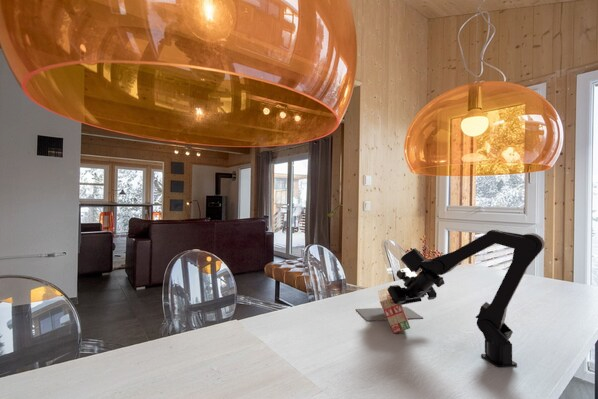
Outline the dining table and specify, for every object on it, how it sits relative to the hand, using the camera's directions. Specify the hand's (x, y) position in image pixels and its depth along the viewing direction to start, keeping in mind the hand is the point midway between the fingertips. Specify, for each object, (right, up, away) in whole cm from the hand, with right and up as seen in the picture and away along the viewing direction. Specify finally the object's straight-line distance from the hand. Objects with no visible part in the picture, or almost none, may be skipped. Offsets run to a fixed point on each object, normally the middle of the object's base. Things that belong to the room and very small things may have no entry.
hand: (401, 303), depth 112 cm
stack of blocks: (-1, -6, +1) cm, 7 cm away
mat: (-2, -8, +10) cm, 13 cm away
